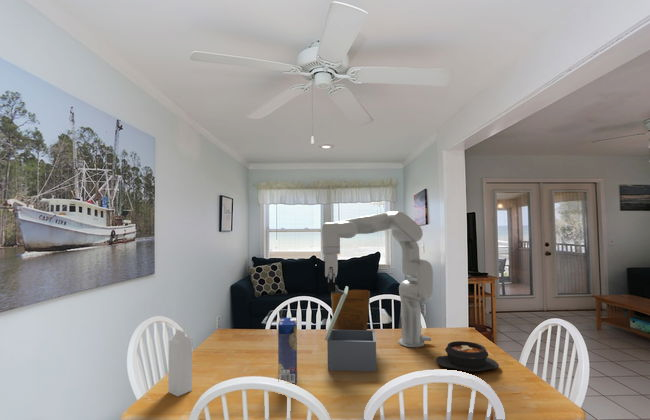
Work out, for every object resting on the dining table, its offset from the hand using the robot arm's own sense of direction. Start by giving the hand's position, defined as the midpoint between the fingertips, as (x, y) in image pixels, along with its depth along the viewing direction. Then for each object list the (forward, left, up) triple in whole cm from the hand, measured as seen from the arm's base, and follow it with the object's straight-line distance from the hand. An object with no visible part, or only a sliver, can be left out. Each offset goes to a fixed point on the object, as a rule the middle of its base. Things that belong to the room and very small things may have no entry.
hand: (332, 289), depth 160 cm
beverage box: (+17, +16, -32) cm, 40 cm away
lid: (-3, 0, -10) cm, 10 cm away
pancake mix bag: (-7, -22, -32) cm, 39 cm away
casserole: (-56, 0, -32) cm, 65 cm away
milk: (+54, +31, -32) cm, 70 cm away
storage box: (-8, 0, -32) cm, 33 cm away
